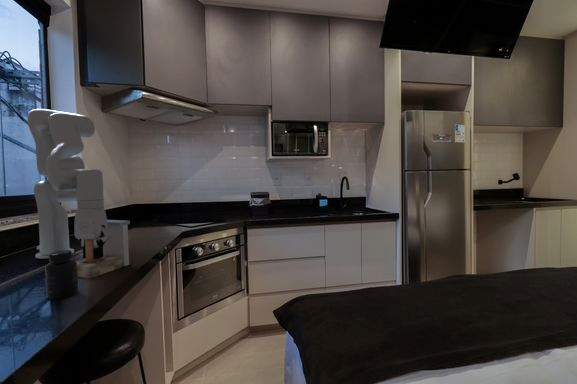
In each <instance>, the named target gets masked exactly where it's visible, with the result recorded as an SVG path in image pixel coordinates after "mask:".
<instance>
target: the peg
mask: <svg viewBox="0 0 577 384" xmlns="http://www.w3.org/2000/svg"><path fill="white" fill-rule="evenodd" d="M98 238H99V237H98ZM98 242H99V240H98ZM93 248H95V246H94V241H93V240H92V239H85V249H86V263H89V264H93V263H96V262H99V261H100V258H99V259H94V257H93Z"/></svg>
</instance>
